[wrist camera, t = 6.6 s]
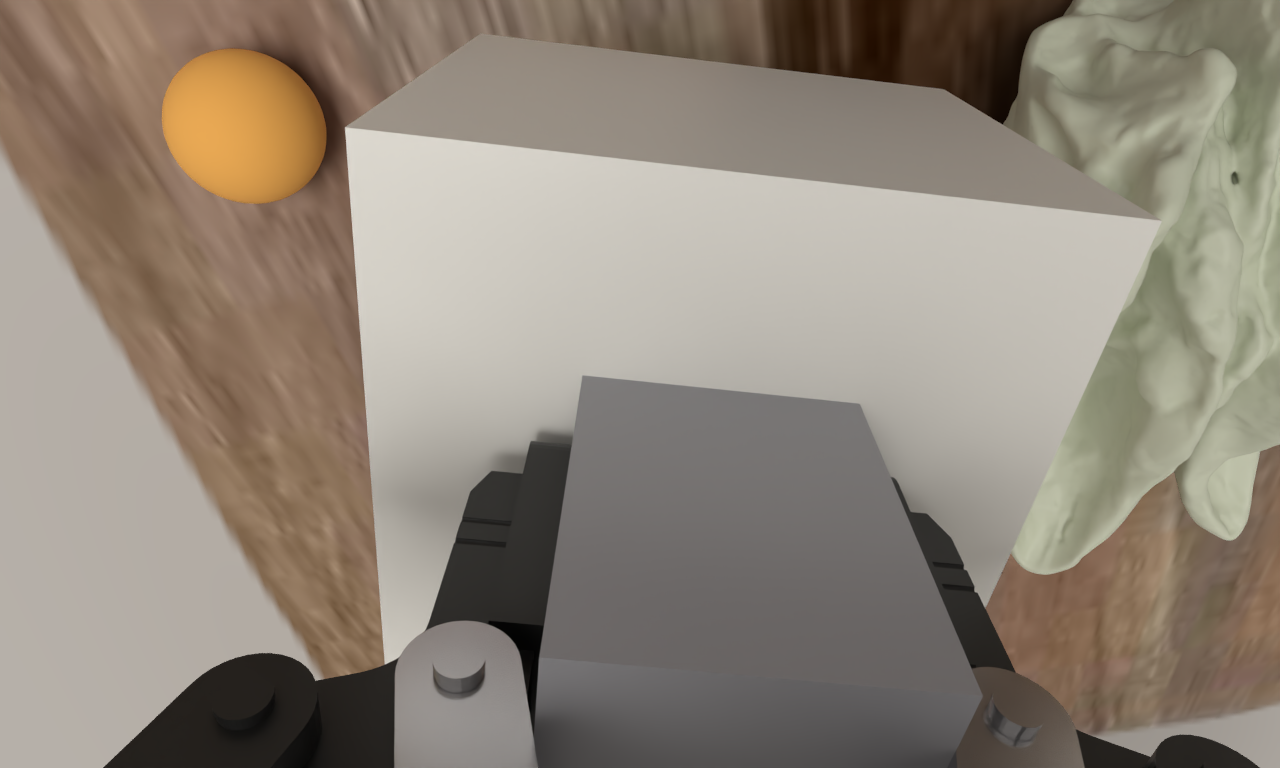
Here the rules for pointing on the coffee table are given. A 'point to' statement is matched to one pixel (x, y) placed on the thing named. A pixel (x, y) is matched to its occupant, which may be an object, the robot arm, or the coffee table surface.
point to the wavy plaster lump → (1167, 257)
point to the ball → (244, 126)
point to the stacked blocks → (723, 380)
